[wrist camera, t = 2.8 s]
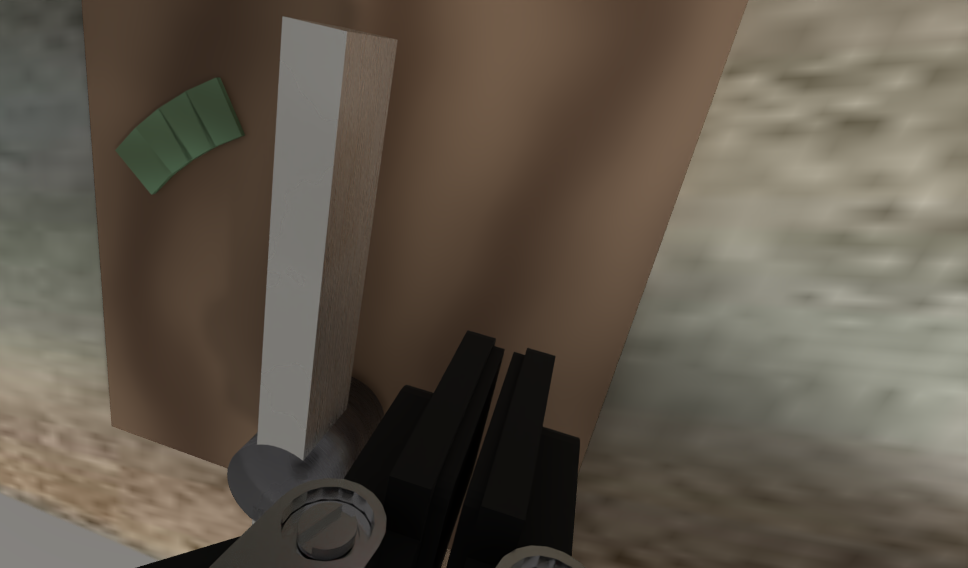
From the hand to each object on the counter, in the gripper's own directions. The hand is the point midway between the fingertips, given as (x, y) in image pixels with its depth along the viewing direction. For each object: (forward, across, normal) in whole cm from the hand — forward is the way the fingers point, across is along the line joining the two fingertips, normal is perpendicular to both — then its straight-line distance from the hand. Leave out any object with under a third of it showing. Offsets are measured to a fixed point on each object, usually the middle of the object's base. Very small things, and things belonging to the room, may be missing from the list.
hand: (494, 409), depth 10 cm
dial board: (+10, +7, +2) cm, 13 cm away
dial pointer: (+9, +6, +3) cm, 11 cm away
